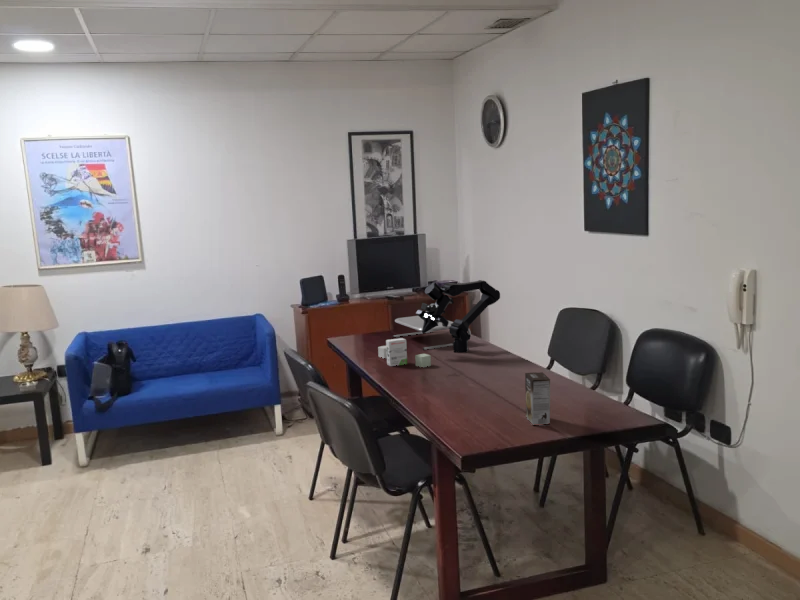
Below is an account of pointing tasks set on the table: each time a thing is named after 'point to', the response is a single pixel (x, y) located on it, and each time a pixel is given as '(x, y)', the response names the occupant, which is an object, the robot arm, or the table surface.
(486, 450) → the table surface
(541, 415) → the coffee box
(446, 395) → the table surface
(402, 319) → the monitor stand
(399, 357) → the ink box
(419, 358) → the sage block
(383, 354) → the grey block
